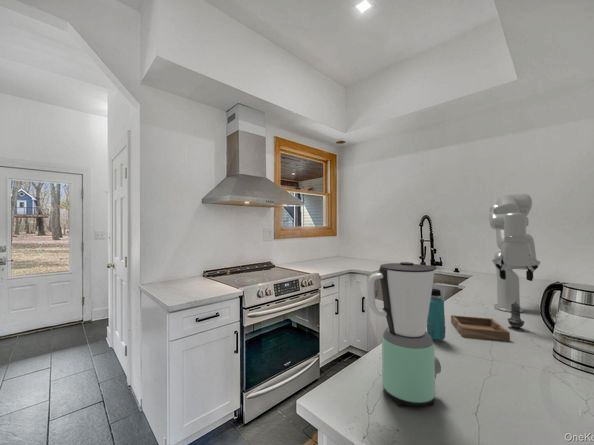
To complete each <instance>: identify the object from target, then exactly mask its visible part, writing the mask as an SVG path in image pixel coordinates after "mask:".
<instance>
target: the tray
mask: <svg viewBox="0 0 594 445" xmlns="http://www.w3.org/2000/svg"><path fill="white" fill-rule="evenodd" d="M450 322H451V325H452V326H453V327H454V328H455V330H456V331H457V332H458V334H459V335H460V337H462V338H470V339H471V338H472V339H480V340H489V341H490V340H491V341H499V342H510V341H511V334H510V331H509V330H507V329H506V328H505V327H504V326H502V325H501V324H499V323H498V322H497V321H496V320H495V319H493V318H487V317H478V316H477V317H476V316H464V315H463V316H462V315H450Z"/></svg>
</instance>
